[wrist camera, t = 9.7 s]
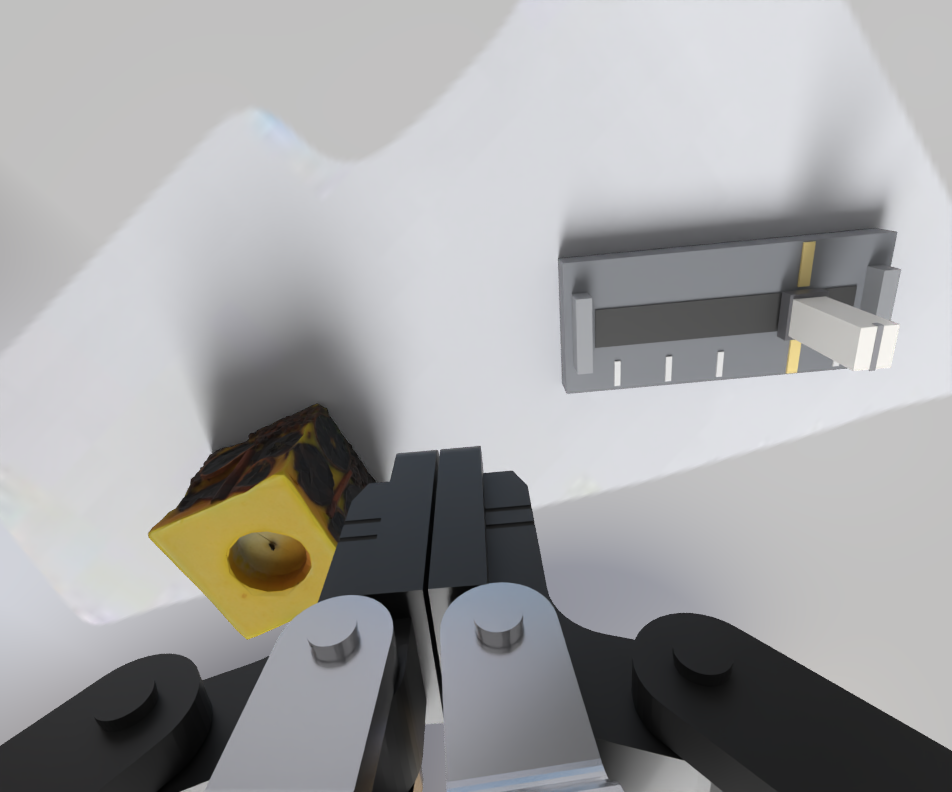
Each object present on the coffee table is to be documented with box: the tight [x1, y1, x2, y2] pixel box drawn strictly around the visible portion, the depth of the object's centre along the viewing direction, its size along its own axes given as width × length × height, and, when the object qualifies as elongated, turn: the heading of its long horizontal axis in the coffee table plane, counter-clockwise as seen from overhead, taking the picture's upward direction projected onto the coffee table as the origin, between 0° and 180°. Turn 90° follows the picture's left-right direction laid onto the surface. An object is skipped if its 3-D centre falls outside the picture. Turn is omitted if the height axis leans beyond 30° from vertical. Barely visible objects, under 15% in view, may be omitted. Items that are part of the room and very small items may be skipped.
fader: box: [777, 288, 900, 371], centre depth 33 cm, size 3×2×8 cm
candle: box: [148, 404, 376, 639], centre depth 39 cm, size 10×10×10 cm
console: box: [558, 228, 901, 394], centre depth 37 cm, size 9×21×4 cm, turn 95°
